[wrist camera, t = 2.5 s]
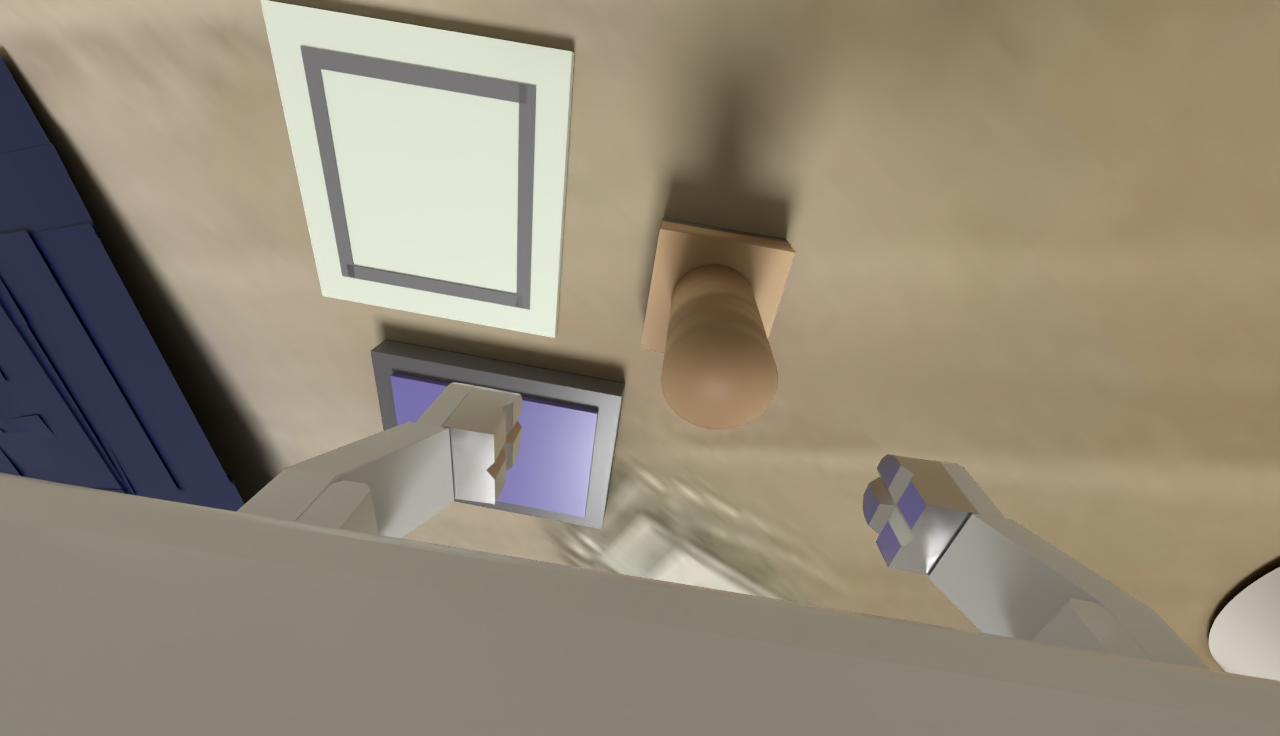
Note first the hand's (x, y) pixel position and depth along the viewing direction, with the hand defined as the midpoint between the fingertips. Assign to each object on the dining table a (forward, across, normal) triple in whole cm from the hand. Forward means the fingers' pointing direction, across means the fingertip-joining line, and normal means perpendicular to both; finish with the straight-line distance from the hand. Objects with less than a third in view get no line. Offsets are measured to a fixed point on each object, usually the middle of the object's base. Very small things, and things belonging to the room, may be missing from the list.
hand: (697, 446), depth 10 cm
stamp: (+11, -1, 0) cm, 11 cm away
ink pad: (+11, +8, +10) cm, 17 cm away
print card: (+11, +11, -2) cm, 16 cm away
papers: (+12, +35, +13) cm, 39 cm away
